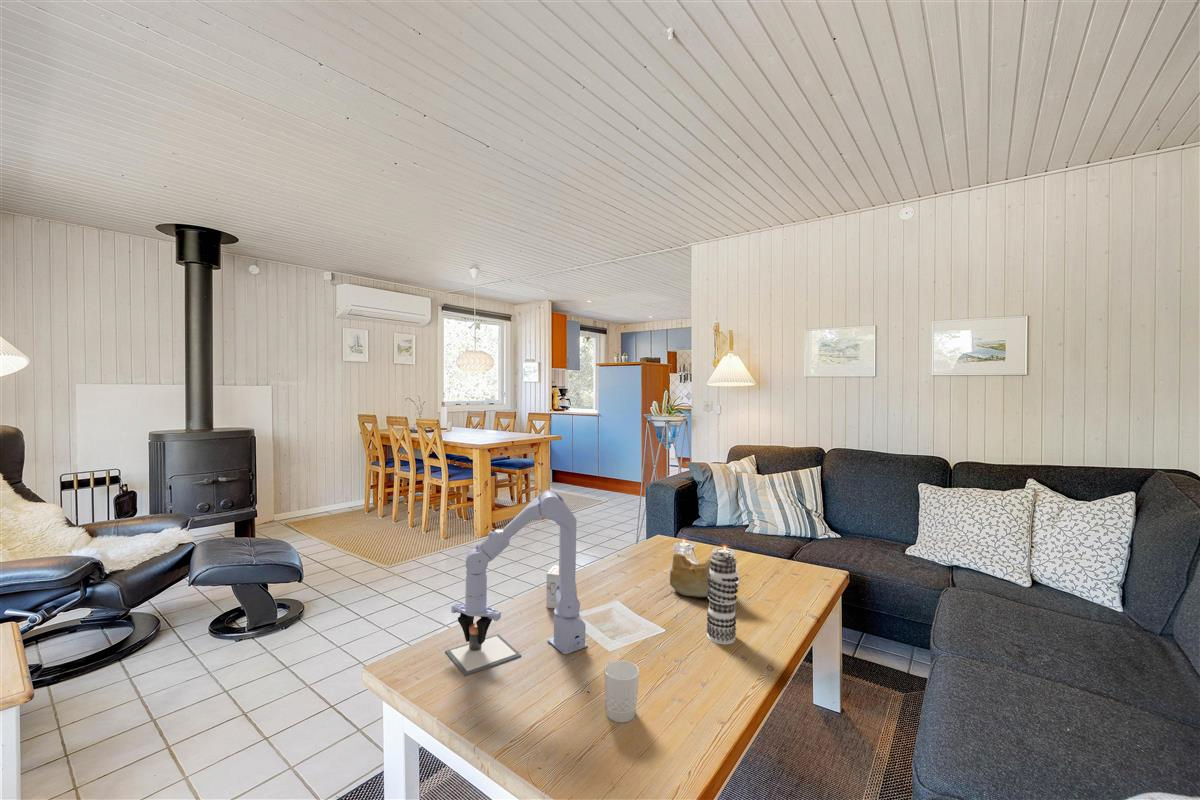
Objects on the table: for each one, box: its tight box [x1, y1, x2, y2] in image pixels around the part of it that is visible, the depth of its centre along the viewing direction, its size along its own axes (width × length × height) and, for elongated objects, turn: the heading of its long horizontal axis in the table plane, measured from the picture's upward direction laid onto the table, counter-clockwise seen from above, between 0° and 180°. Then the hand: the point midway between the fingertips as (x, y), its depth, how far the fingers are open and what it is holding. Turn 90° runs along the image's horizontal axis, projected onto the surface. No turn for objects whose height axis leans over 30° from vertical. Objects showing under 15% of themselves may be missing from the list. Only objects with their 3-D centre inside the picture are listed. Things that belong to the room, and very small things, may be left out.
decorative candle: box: [706, 551, 739, 645], centre depth 148 cm, size 9×9×25 cm
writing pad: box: [444, 634, 522, 677], centre depth 135 cm, size 14×16×1 cm
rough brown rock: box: [669, 553, 710, 598], centre depth 180 cm, size 23×17×15 cm
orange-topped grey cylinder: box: [468, 622, 482, 650], centre depth 137 cm, size 4×4×6 cm
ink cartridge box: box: [546, 564, 559, 609], centre depth 169 cm, size 9×5×15 cm, turn 168°
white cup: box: [603, 659, 640, 723], centre depth 112 cm, size 8×8×10 cm
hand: (475, 641), depth 137 cm, fingers closed on orange-topped grey cylinder, 3 cm apart
